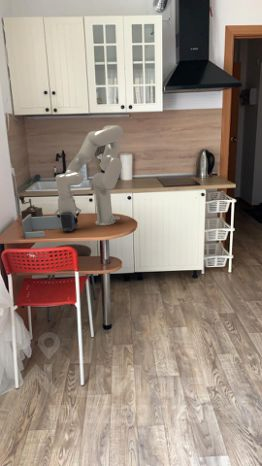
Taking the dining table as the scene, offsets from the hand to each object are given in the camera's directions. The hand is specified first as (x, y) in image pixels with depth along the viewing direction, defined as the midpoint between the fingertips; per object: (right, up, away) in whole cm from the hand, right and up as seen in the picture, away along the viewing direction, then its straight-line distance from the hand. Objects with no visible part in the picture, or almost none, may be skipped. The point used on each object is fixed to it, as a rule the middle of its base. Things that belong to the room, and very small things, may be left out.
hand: (69, 224), depth 227 cm
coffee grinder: (-31, +1, +28) cm, 42 cm away
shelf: (-14, -5, +1) cm, 15 cm away
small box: (0, -3, +1) cm, 3 cm away
